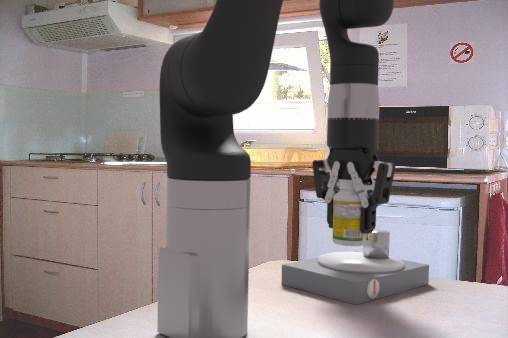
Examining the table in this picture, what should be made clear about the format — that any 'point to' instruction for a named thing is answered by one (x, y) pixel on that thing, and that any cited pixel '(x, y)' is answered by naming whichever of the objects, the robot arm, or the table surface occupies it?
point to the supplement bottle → (347, 216)
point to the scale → (354, 276)
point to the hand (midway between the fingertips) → (350, 229)
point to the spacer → (377, 245)
